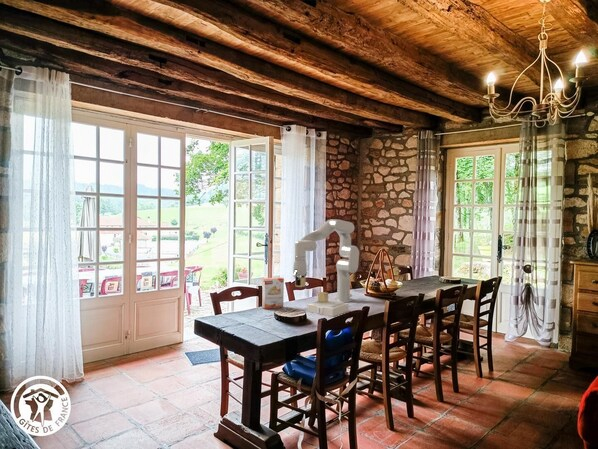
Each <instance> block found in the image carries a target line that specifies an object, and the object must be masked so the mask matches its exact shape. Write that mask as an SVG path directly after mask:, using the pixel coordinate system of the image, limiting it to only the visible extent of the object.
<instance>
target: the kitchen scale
mask: <svg viewBox="0 0 598 449" xmlns="http://www.w3.org/2000/svg"><path fill="white" fill-rule="evenodd" d="M349 305H350V304H349V302H340V301H335V300H333V299H328V302H325V303H322V302H318V300H317V301H313V302H311V303H309V304H306V306H307V309H306V310H307V311H306V312H307V313H310V314H311V313H312V314H316V315H323V316H328V317H335V316H338V315H341V314H344V313H347V312H349V308H350V307H349Z"/></svg>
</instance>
